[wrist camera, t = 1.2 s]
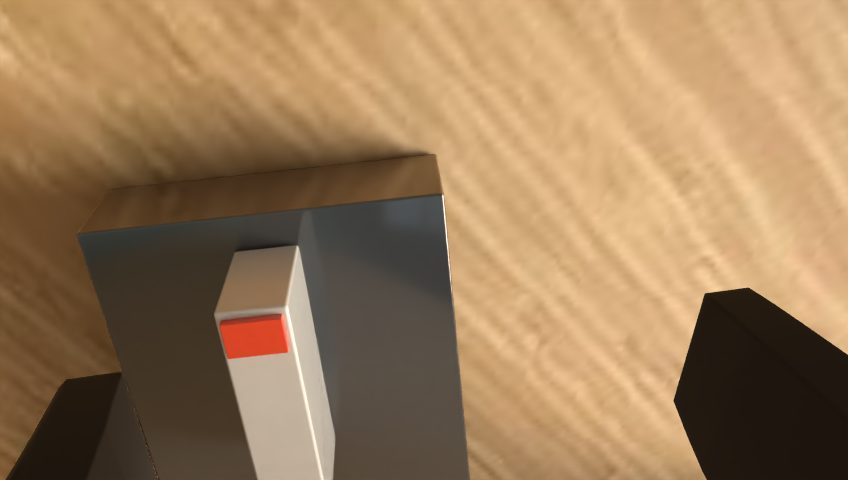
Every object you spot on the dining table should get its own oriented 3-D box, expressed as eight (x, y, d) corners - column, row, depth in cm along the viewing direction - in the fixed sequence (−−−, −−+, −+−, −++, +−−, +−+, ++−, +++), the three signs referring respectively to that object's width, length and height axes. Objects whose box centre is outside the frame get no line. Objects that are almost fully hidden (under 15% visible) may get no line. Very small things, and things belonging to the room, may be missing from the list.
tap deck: (466, 472, 30) (475, 535, 27) (203, 501, 30) (187, 567, 27) (436, 152, 24) (443, 193, 21) (107, 188, 24) (74, 234, 21)
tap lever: (336, 438, 25) (330, 522, 22) (279, 444, 25) (265, 530, 22) (298, 243, 22) (286, 311, 19) (233, 250, 22) (210, 319, 19)
